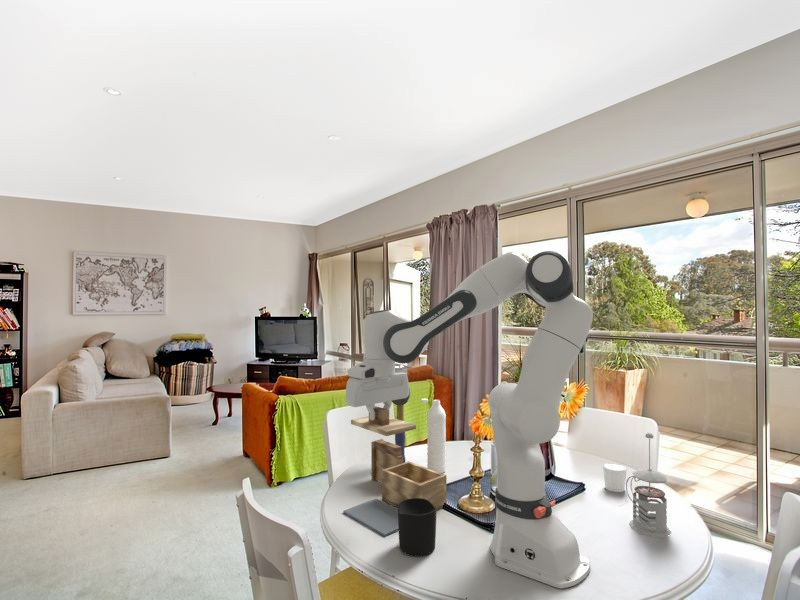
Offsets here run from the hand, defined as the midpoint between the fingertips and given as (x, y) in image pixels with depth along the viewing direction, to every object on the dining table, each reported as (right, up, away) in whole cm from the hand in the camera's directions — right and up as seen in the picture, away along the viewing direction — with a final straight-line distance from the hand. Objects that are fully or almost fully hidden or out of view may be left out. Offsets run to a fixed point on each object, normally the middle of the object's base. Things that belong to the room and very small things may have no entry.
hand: (378, 418), depth 126 cm
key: (+2, -17, +23) cm, 29 cm away
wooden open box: (+10, -27, +9) cm, 30 cm away
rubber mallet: (+6, -28, +41) cm, 49 cm away
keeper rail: (+2, -27, +23) cm, 36 cm away
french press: (+71, -28, -5) cm, 77 cm away
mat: (0, -27, 0) cm, 27 cm away
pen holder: (+10, -28, -16) cm, 33 cm away
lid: (+1, -3, +1) cm, 3 cm away
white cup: (+74, -28, +19) cm, 82 cm away
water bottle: (+18, -28, +35) cm, 48 cm away
